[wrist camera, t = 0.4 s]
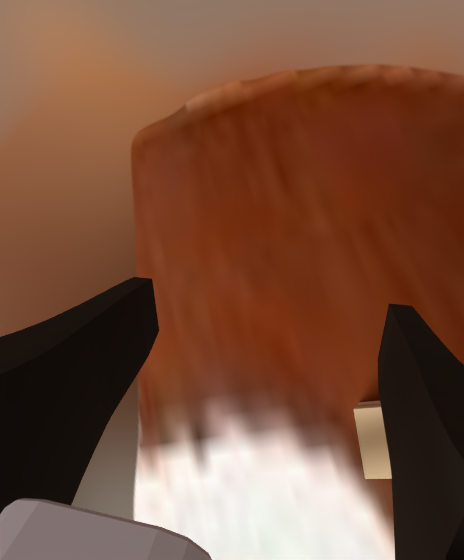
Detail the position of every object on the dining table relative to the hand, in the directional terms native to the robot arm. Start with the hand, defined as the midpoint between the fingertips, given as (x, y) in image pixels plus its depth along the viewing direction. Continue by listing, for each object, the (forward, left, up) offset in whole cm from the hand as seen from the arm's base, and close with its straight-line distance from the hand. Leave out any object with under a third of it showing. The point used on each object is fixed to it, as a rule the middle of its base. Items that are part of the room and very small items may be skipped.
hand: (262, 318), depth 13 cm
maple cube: (-8, -2, -27) cm, 28 cm away
